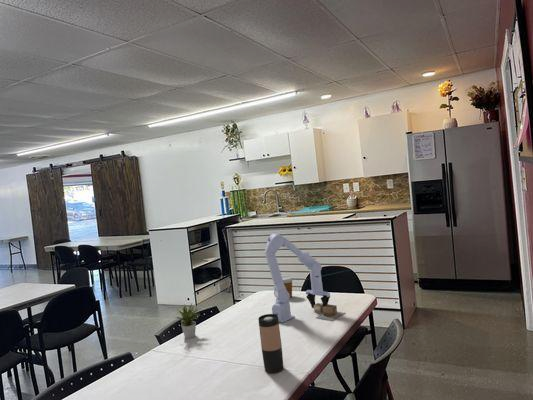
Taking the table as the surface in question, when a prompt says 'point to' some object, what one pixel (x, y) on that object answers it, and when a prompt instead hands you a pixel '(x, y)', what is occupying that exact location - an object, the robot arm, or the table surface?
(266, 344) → the travel mug
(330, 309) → the walnut block
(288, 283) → the disposable coffee cup
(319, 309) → the beech block
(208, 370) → the table surface
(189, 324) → the house plant
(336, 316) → the grey flat slab
